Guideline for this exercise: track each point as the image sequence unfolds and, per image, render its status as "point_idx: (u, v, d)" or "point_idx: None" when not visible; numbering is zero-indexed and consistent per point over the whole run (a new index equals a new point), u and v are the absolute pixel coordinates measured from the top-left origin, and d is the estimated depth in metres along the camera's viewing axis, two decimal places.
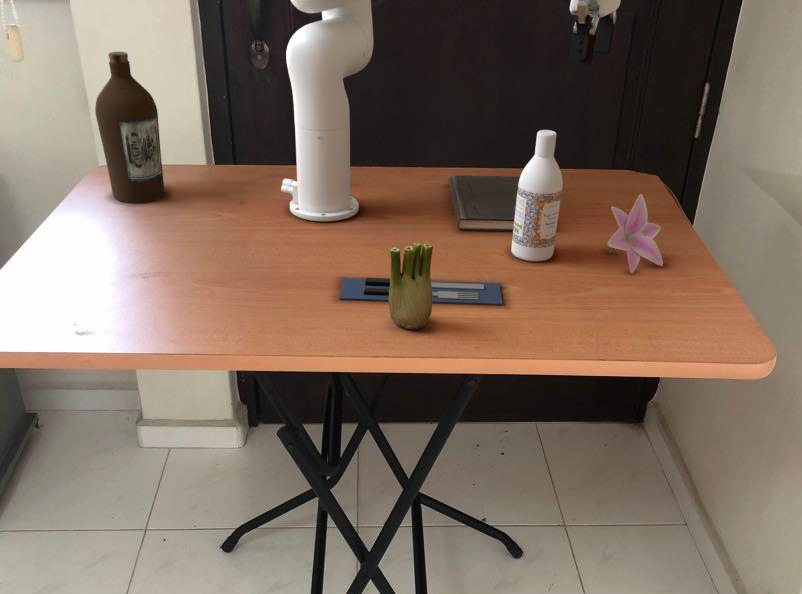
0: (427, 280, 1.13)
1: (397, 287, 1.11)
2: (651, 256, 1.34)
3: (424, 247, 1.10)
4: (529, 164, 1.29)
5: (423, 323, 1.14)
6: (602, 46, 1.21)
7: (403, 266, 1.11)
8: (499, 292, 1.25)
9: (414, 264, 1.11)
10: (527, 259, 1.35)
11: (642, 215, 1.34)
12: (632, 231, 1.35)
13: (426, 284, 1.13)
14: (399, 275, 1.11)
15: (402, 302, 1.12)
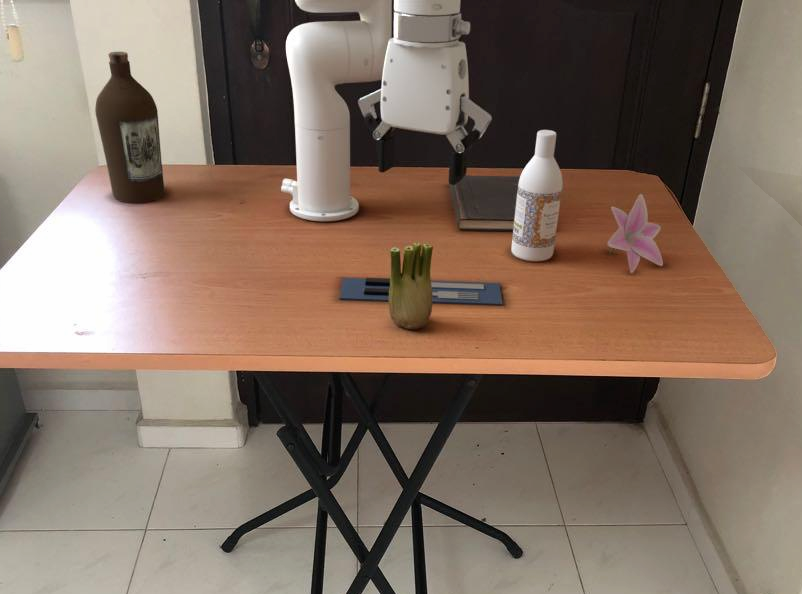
0: (427, 280, 1.13)
1: (397, 287, 1.11)
2: (651, 256, 1.34)
3: (424, 247, 1.10)
4: (529, 164, 1.29)
5: (423, 323, 1.14)
6: None
7: (403, 266, 1.11)
8: (499, 292, 1.25)
9: (414, 264, 1.11)
10: (527, 259, 1.35)
11: (642, 215, 1.34)
12: (632, 231, 1.35)
13: (426, 284, 1.13)
14: (399, 275, 1.11)
15: (402, 302, 1.12)
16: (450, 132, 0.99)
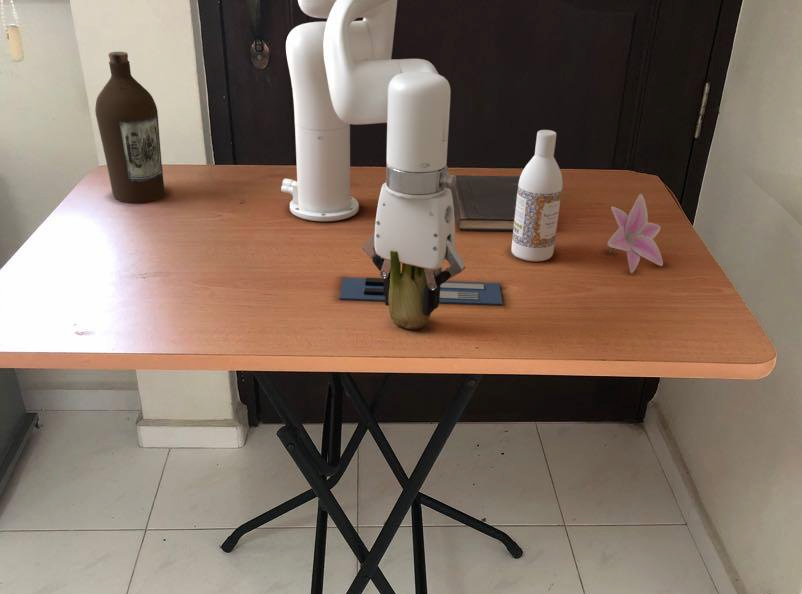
0: None
1: (396, 287, 1.12)
2: (651, 256, 1.34)
3: None
4: (529, 164, 1.29)
5: (423, 323, 1.14)
6: None
7: (403, 266, 1.11)
8: (499, 292, 1.25)
9: None
10: (527, 259, 1.35)
11: (642, 215, 1.34)
12: (632, 231, 1.35)
13: (426, 284, 1.13)
14: (399, 275, 1.11)
15: (401, 302, 1.12)
16: (437, 268, 1.08)
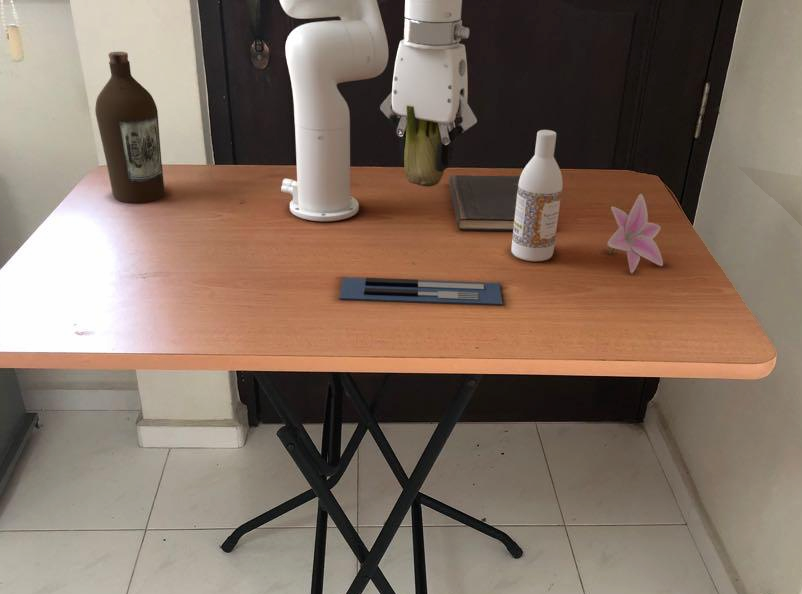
0: None
1: (412, 143, 1.19)
2: (651, 256, 1.34)
3: None
4: (529, 164, 1.29)
5: (436, 180, 1.22)
6: None
7: (418, 122, 1.18)
8: (499, 292, 1.25)
9: (428, 121, 1.18)
10: (527, 259, 1.35)
11: (642, 215, 1.34)
12: (632, 231, 1.35)
13: (439, 142, 1.20)
14: (414, 131, 1.18)
15: (416, 158, 1.20)
16: (451, 121, 1.15)
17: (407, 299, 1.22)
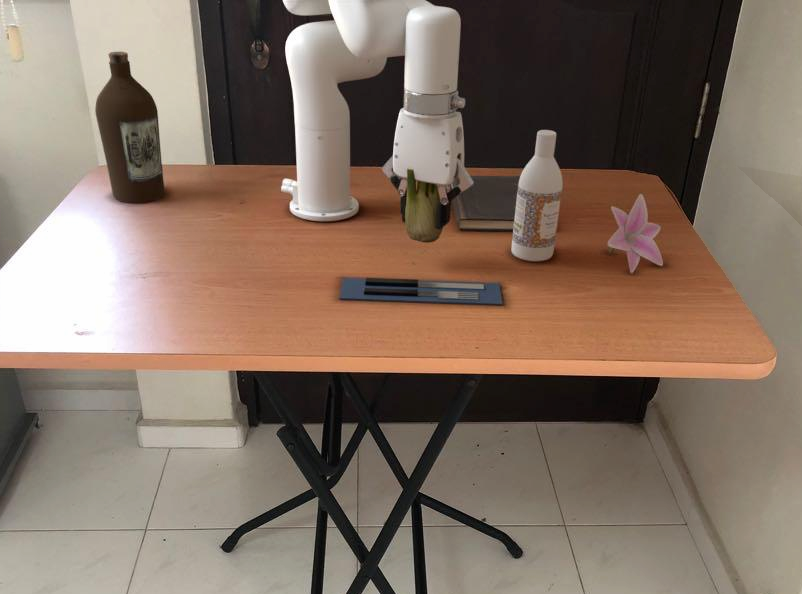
0: (439, 197, 1.27)
1: (412, 203, 1.26)
2: (651, 256, 1.34)
3: None
4: (529, 164, 1.29)
5: (436, 237, 1.29)
6: None
7: (418, 183, 1.25)
8: (499, 292, 1.25)
9: None
10: (527, 259, 1.35)
11: (642, 215, 1.34)
12: (632, 231, 1.35)
13: (438, 201, 1.27)
14: (414, 192, 1.25)
15: (417, 216, 1.27)
16: (449, 184, 1.22)
17: (407, 299, 1.22)
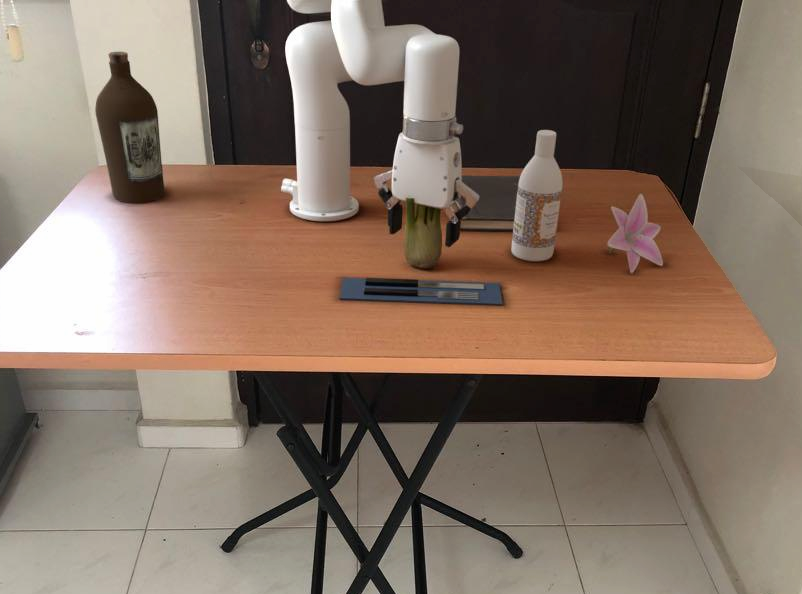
0: (438, 224, 1.29)
1: (411, 230, 1.28)
2: (651, 256, 1.34)
3: None
4: (529, 164, 1.29)
5: (434, 263, 1.31)
6: None
7: (417, 211, 1.27)
8: (499, 292, 1.25)
9: (426, 210, 1.28)
10: (527, 259, 1.35)
11: (642, 215, 1.34)
12: (632, 231, 1.35)
13: (437, 228, 1.29)
14: (413, 219, 1.27)
15: (415, 243, 1.29)
16: (446, 207, 1.24)
17: (407, 299, 1.22)
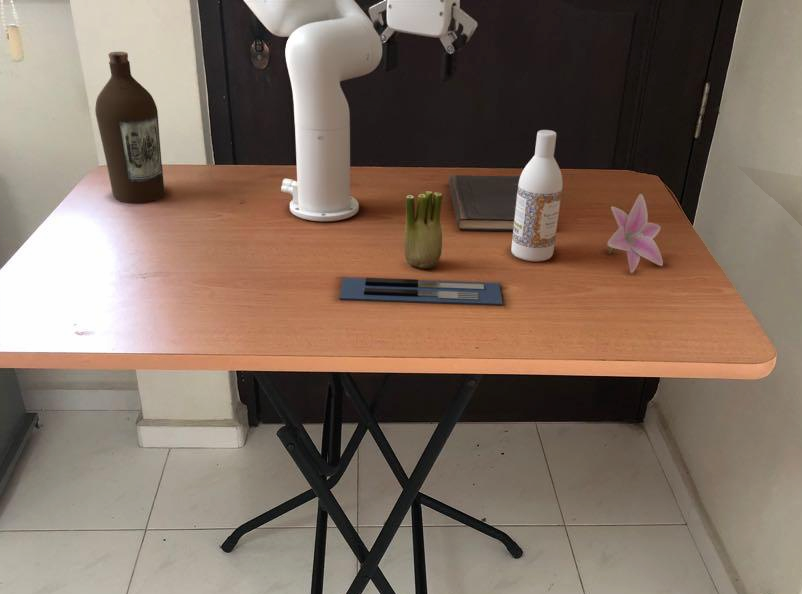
0: (438, 224, 1.29)
1: (411, 230, 1.28)
2: (651, 256, 1.34)
3: (435, 195, 1.27)
4: (529, 164, 1.29)
5: (434, 263, 1.31)
6: None
7: (417, 211, 1.27)
8: (499, 292, 1.25)
9: (426, 210, 1.28)
10: (527, 259, 1.35)
11: (642, 215, 1.34)
12: (632, 231, 1.35)
13: (437, 228, 1.29)
14: (413, 219, 1.27)
15: (415, 243, 1.29)
16: (443, 35, 1.20)
17: (407, 299, 1.22)
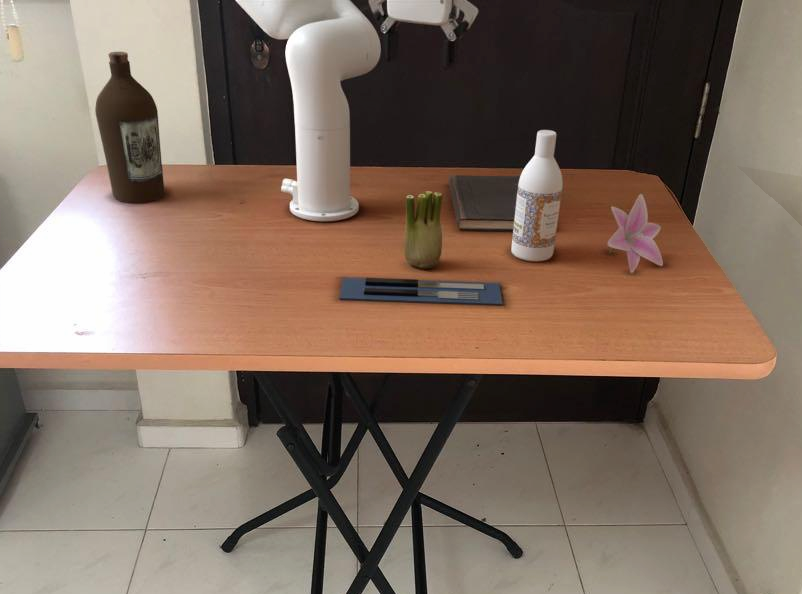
0: (438, 224, 1.29)
1: (411, 230, 1.28)
2: (651, 256, 1.34)
3: (435, 195, 1.27)
4: (529, 164, 1.29)
5: (434, 263, 1.31)
6: None
7: (417, 211, 1.27)
8: (499, 292, 1.25)
9: (426, 210, 1.28)
10: (527, 259, 1.35)
11: (642, 215, 1.34)
12: (632, 231, 1.35)
13: (437, 228, 1.29)
14: (413, 219, 1.27)
15: (415, 243, 1.29)
16: (444, 23, 1.20)
17: (407, 299, 1.22)
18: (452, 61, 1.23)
